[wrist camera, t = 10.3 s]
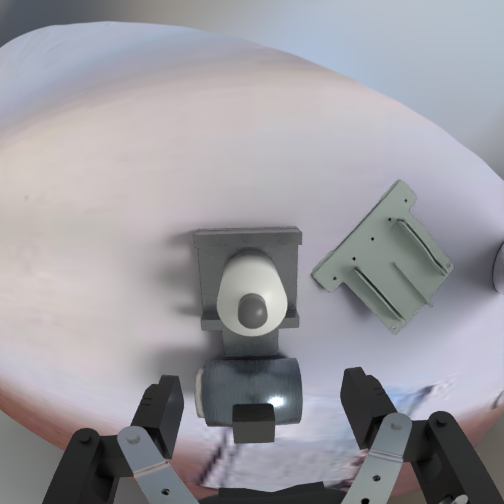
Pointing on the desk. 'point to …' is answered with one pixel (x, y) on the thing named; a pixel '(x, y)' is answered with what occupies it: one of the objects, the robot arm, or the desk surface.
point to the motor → (248, 340)
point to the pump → (251, 295)
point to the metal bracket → (388, 261)
